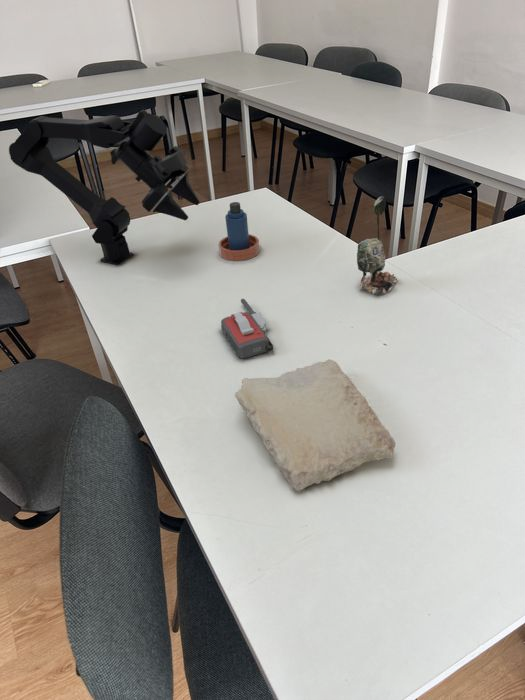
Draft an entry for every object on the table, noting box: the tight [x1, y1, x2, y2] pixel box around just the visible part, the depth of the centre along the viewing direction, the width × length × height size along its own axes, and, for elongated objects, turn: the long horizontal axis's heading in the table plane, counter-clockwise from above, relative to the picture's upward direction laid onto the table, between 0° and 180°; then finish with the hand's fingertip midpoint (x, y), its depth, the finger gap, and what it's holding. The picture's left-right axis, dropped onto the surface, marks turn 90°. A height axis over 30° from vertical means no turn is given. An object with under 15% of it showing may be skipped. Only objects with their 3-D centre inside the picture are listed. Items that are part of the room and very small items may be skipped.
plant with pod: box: [356, 195, 399, 295], centre depth 114 cm, size 8×11×20 cm
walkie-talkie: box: [220, 298, 274, 359], centre depth 108 cm, size 9×4×20 cm
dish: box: [218, 233, 261, 262], centre depth 137 cm, size 10×10×3 cm
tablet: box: [234, 359, 396, 491], centre depth 84 cm, size 24×8×20 cm
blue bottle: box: [225, 201, 250, 250], centre depth 134 cm, size 5×5×13 cm
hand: (193, 211), depth 127 cm, fingers open, 9 cm apart
